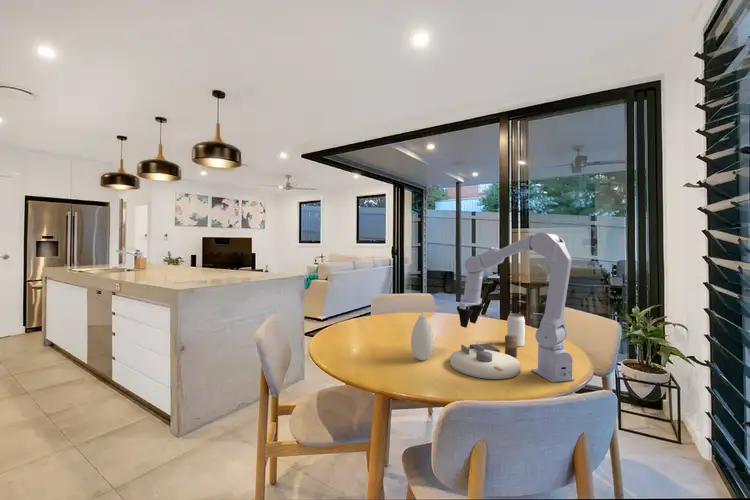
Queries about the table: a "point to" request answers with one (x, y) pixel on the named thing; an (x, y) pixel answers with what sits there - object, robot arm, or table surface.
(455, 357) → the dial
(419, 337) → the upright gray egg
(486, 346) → the mat
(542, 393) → the table surface
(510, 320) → the can
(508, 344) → the pin
